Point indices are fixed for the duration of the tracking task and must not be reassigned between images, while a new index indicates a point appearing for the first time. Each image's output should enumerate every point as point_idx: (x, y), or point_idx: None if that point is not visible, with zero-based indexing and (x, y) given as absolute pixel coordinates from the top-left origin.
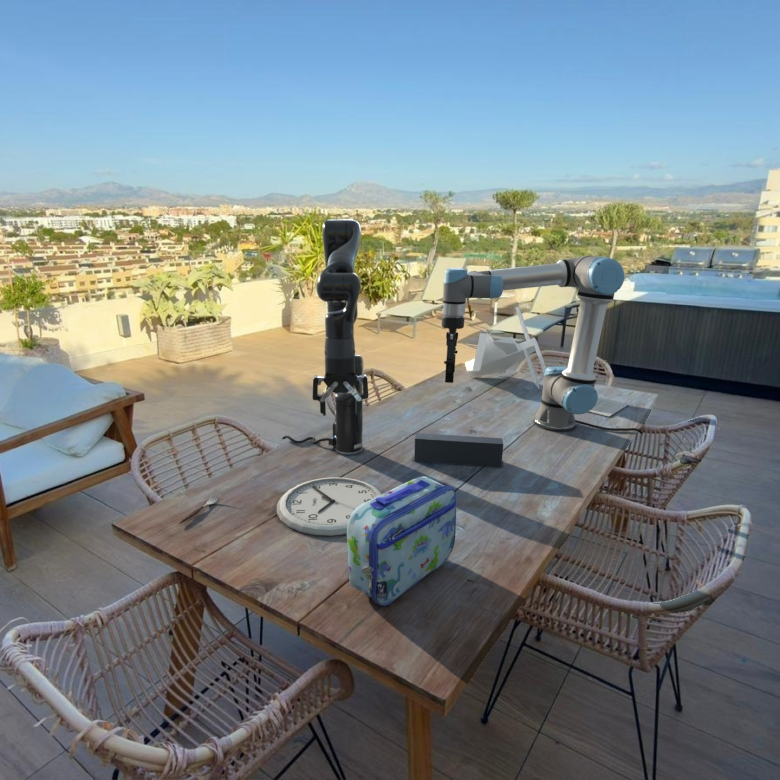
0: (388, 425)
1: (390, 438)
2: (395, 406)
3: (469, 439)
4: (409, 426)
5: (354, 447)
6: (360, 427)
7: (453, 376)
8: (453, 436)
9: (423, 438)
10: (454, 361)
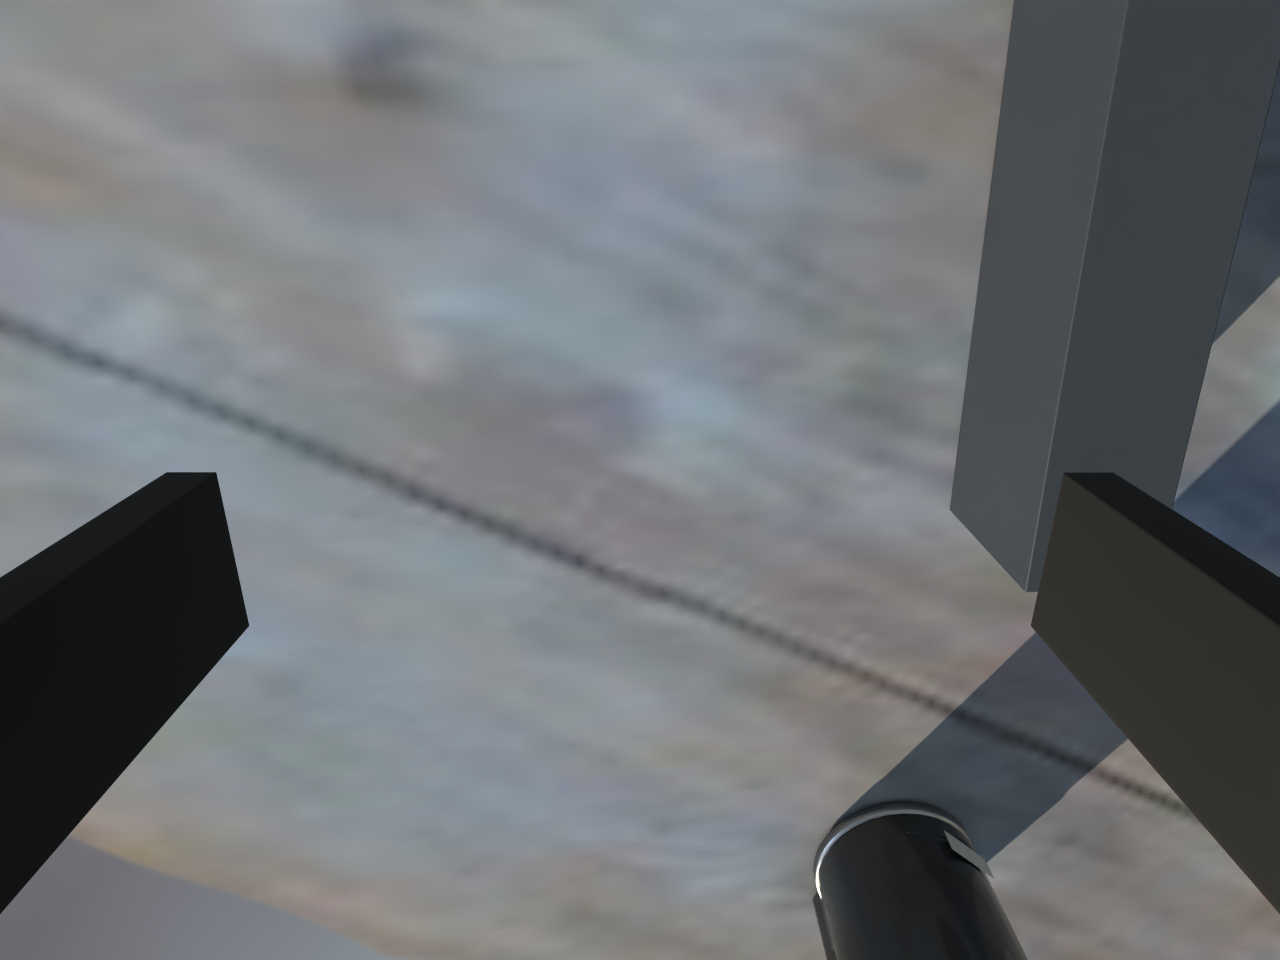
0: (453, 727)
1: (683, 686)
2: None
3: (1202, 95)
4: (429, 598)
5: (986, 864)
6: (995, 951)
7: (1211, 536)
8: (1113, 268)
9: None
10: (32, 628)
